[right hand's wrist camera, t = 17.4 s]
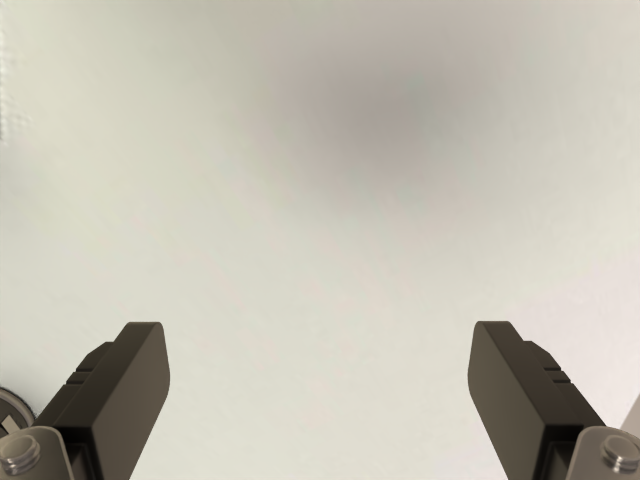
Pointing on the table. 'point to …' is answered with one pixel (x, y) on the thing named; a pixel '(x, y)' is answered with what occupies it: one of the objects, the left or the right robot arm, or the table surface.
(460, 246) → the table surface
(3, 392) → the left robot arm
